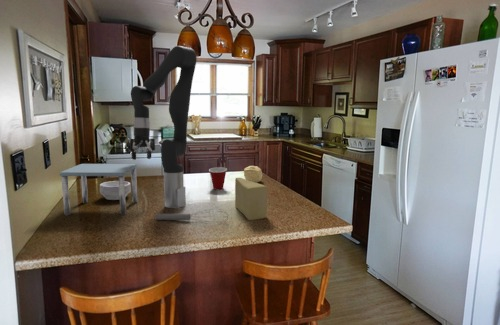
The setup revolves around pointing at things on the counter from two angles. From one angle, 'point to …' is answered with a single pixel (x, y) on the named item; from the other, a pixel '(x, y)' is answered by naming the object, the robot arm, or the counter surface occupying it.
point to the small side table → (99, 170)
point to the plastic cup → (218, 177)
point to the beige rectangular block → (251, 199)
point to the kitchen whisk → (182, 216)
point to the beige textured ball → (253, 174)
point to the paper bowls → (113, 189)
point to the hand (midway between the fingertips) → (141, 159)
